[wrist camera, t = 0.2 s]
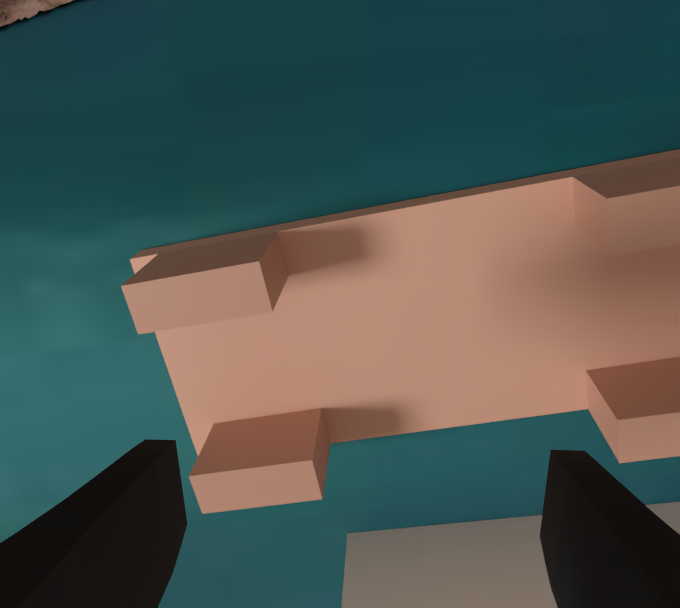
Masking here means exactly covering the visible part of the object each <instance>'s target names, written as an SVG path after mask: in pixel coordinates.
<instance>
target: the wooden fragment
mask: <svg viewBox="0 0 680 608" xmlns="http://www.w3.org/2000/svg"><path fill="white" fill-rule="evenodd" d="M71 1H73V0H0V26H4V25H7V24H10V23H12V22H15V21H16V20H17V19H20V20H22V19H23V18H24V17H26V18H30V17H32V16H34V15H36V14H37V13H38V11H39V10H41V11H46V10H50V9H53V8H55V7H57V6H59V5H61V4H65V3H69V2H71Z"/></svg>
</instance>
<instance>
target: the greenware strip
mask: <svg viewBox="0 0 680 608" xmlns="http://www.w3.org/2000/svg"><path fill="white" fill-rule="evenodd" d="M645 506H647V507H648V508H649V509H650V510H651V511H652V512H654V513H655V514H656V515H657V516H658V517H659V518H660V519H662V520H663V521H664V522H665V523H666V524H668V525H669V526H670V527H671V528H672V529H674V530H675V531H676V532H677V533H678V534H680V502H673V503H662V504H652V505H645ZM541 522H542V515H537V516H526V517H516V518H505V519H495V520H484V521H474V522H463V523H453V524H442V525H432V526H421V527H411V528H400V529H390V530H379V531H369V532H358V533H348V534H347V546H346V558H345V571H344V583H343V596H342V608H558V607H557V604H556V602H555V599H554V596H553V593H552V590H551V586H550V582H549V577H548V573H547V569H546V565H545V560H544V555H543V550H542V545H541V541H540V529H541Z"/></svg>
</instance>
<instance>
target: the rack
mask: <svg viewBox="0 0 680 608" xmlns="http://www.w3.org/2000/svg"><path fill="white" fill-rule="evenodd" d="M130 262H131V264H132V267H133V270H134V273H135V274H134V275H133V276H132V277H131V278H130V279H129V280H127V281H126V282H125V283H124V284H123V285H122V286H121V287H122V290H123V293H124V296H125V298H126V301H127V304H128V307H129V310H130V312H131V315H132V318H133V321H134V324H135V326H136V329H137V332H138V334H144V333H150V332H155V334H156V337H157V340H158V343H159V345H160V348H161V351H162V354H163V357H164V360H165V363H166V366H167V369H168V371H169V374H170V377H171V380H172V383H173V386H174V389H175V392H176V395H177V397H178V400H179V403H180V406H181V409H182V412H183V415H184V418H185V421H186V423H187V426H188V429H189V432H190V435H191V438H192V441H193V444H194V447H195V449H196V452H197V455H198V458H197V460H196V462H195V465H194V467H193V469H192V471H191V473H190V475H189V478H190V480H191V483H192V486H193V489H194V492H195V494H196V497H197V500H198V503H199V506H200V508H201V511H202V514H205V513H213V512H221V511H229V510H238V509H246V508H254V507H262V506H271V505H279V504H287V503H296V502H304V501H312V500H320V499H323V492H324V485H325V478H326V471H327V464H328V457H329V450H330V443H337V442H345V441H352V440H360V439H367V438H375V437H382V436H390V435H397V434H404V433H412V432H419V431H427V430H434V429H442V428H449V427H457V426H464V425H472V424H479V423H487V422H494V421H502V420H509V419H516V418H524V417H531V416H539V415H546V414H554V413H561V412H569V411H576V410H584V409H589V411H590V413H591V415H592V416H593V418H594V420H595V421H596V423H597V425H598V427H599V428H600V430H601V432H602V434H603V435H604V437H605V439H606V441H607V442H608V444H609V446H610V447H611V449H612V451H613V453H614V454H615V456H616V458H617V460H618V461H619V463H626V462H634V461H642V460H651V459H659V458H667V457H675V456H680V149H678V150H672V151H667V152H662V153H656V154H651V155H646V156H640V157H635V158H630V159H624V160H619V161H614V162H608V163H603V164H598V165H592V166H587V167H582V168H576V169H571V170H566V171H560V172H555V173H550V174H544V175H539V176H534V177H528V178H523V179H518V180H512V181H507V182H502V183H496V184H491V185H486V186H480V187H475V188H470V189H464V190H459V191H454V192H448V193H443V194H438V195H432V196H427V197H422V198H416V199H411V200H406V201H400V202H395V203H390V204H384V205H379V206H374V207H368V208H363V209H358V210H352V211H347V212H342V213H336V214H331V215H326V216H320V217H315V218H310V219H304V220H299V221H294V222H288V223H283V224H278V225H272V226H267V227H262V228H256V229H251V230H246V231H240V232H235V233H230V234H224V235H219V236H214V237H209V238H203V239H198V240H193V241H187V242H182V243H177V244H171V245H166V246H161V247H155V248H150V249H145V250H141V251H139V252H138V253H137V254H136V255H134V256H133V257H132V258H130Z"/></svg>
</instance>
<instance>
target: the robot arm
mask: <svg viewBox="0 0 680 608" xmlns="http://www.w3.org/2000/svg"><path fill="white" fill-rule="evenodd" d="M186 526H187V519H186V512H185V505H184V498H183V490H182V483H181V476H180V469H179V462H178V455H177V447H176V440H144V441H143V442H141V443H140V444H138V445H137V446H135V447H134V448H133V449H131V450H130V451H128V452H127V453H126V454H124V455H123V456H122V457H120V458H119V459H118V460H117V461H115V462H114V463H113V464H111V465H110V466H109V467H107V468H106V469H105V470H103V471H102V472H101V473H100V474H98V475H97V476H96V477H94V478H93V479H92V480H90V481H89V482H88V483H86V484H85V485H84V486H82V487H81V488H80V489H78V490H77V491H76V492H74V493H73V494H71V495H70V496H69V497H67V498H66V499H65V500H63V501H62V502H61V503H59V504H58V505H56V506H55V507H53V508H52V509H50V510H49V511H47V512H46V513H45V514H43V515H42V516H40V517H39V518H37V519H36V520H34V521H33V522H31V523H30V524H29V525H27V526H26V527H24V528H23V529H21V530H20V531H18V532H17V533H15V534H14V535H12V536H11V537H9V538H8V539H6V540H5V541H3V542H1V543H0V608H158V605H159V603H160V601H161V599H162V596H163V594H164V592H165V589H166V587H167V585H168V582H169V580H170V578H171V575H172V573H173V570H174V567H175V564H176V560H177V557H178V554H179V551H180V547H181V544H182V540H183V537H184V533H185V530H186ZM540 541H541V545H542V550H543V555H544V560H545V565H546V569H547V573H548V577H549V582H550V586H551V590H552V593H553V596H554V599H555V602H556V604H557V607H558V608H680V534H678V533H677V532H676V531H675V530H674V529H672V528H671V527H670V526H669V525H668V524H666V523H665V522H664V521H663V520H662V519H660V518H659V517H658V516H657V515H656V514H655V513H654V512H652V511H651V510H650V509H649V508H648V507H647V506H645V505H644V504H643V503H642V502H641V501H640V500H639V499H638V498H636V497H635V496H634V495H633V494H632V493H631V492H630V491H629V490H628V489H626V488H625V487H624V486H623V485H622V484H621V483H620V482H619V481H618V480H616V479H615V478H614V477H613V476H612V475H611V474H610V473H609V472H608V471H607V470H606V469H604V468H603V467H602V466H601V465H600V464H599V463H598V462H597V461H596V460H594V459H593V458H592V457H591V456H590V455H589V454H588V453H586V452H585V451H573V450H551V453H550V460H549V468H548V476H547V483H546V491H545V499H544V506H543V514H542V522H541V529H540Z"/></svg>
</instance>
